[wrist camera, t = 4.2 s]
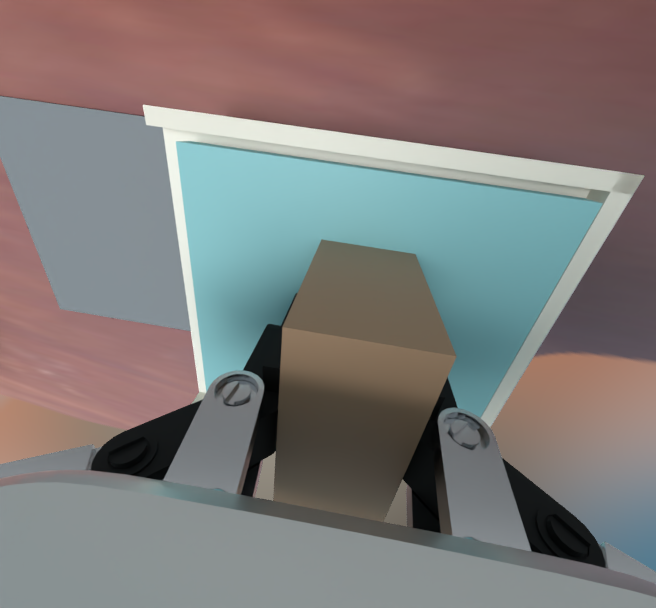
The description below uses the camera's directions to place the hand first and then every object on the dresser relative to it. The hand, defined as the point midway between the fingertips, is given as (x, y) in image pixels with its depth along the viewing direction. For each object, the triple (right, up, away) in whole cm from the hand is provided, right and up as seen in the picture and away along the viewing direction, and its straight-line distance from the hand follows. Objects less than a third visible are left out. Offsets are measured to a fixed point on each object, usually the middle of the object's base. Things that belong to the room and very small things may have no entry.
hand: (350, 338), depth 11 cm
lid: (0, +1, +1) cm, 1 cm away
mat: (-13, +5, +6) cm, 15 cm away
